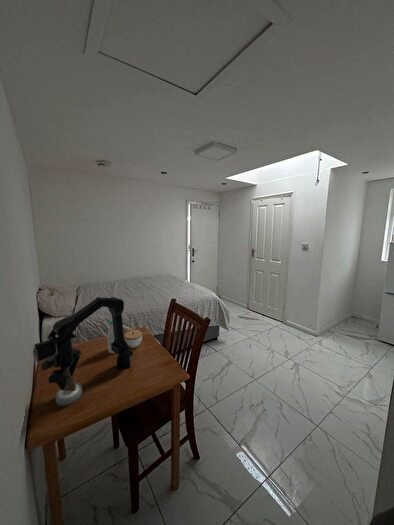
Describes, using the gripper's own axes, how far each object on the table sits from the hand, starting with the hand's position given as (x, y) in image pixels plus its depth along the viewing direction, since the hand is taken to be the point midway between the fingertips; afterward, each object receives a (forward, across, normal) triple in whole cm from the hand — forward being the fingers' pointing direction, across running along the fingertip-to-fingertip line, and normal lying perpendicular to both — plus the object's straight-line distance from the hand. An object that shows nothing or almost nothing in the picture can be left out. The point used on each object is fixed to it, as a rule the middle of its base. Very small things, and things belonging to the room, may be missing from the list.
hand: (67, 382), depth 93 cm
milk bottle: (+8, -35, +13) cm, 38 cm away
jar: (+8, 0, 0) cm, 8 cm away
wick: (+4, 0, +1) cm, 4 cm away
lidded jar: (+8, -39, +24) cm, 47 cm away
